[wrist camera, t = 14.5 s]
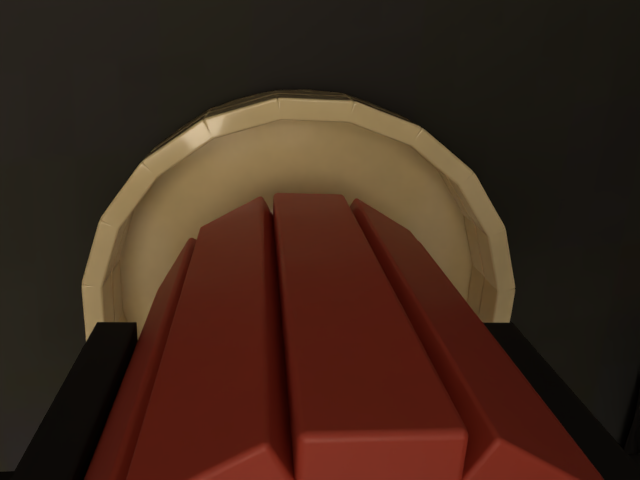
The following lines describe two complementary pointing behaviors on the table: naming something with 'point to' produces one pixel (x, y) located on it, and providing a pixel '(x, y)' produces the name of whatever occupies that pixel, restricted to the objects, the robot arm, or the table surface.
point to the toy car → (634, 432)
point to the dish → (295, 177)
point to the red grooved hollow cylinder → (322, 363)
